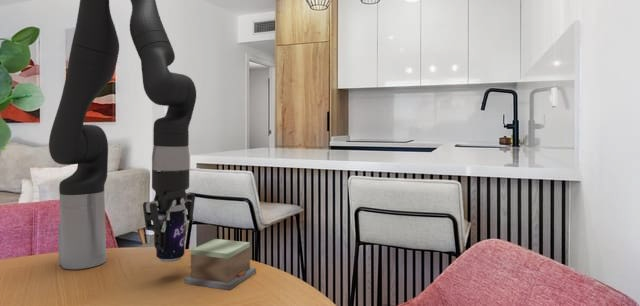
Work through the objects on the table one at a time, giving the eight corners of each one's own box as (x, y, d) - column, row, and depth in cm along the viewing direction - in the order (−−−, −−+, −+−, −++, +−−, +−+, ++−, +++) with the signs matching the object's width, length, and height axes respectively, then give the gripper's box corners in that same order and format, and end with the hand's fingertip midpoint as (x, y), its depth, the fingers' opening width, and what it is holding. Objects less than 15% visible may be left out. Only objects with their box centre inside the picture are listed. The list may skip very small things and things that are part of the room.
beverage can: (175, 264, 84) (175, 207, 84) (150, 261, 86) (150, 205, 85) (189, 256, 90) (189, 202, 89) (166, 253, 91) (166, 200, 90)
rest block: (184, 283, 85) (183, 250, 85) (214, 266, 95) (213, 237, 95) (229, 290, 81) (229, 255, 81) (256, 272, 92) (255, 241, 91)
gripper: (178, 163, 94) (178, 235, 96) (131, 169, 81) (131, 252, 82) (206, 165, 92) (205, 238, 93) (162, 171, 78) (161, 257, 80)
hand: (170, 244), depth 88 cm, fingers closed on beverage can, 5 cm apart
